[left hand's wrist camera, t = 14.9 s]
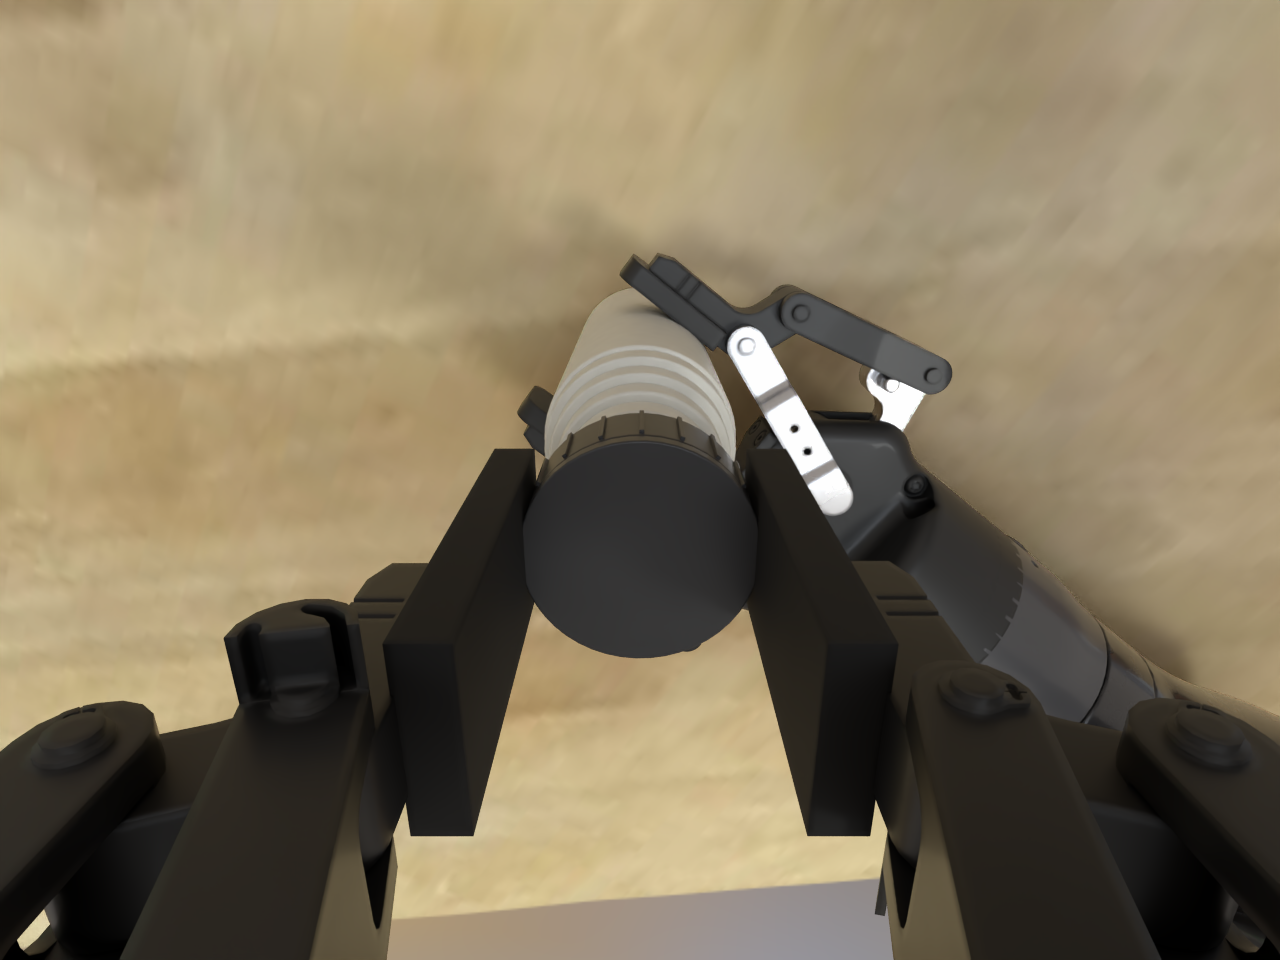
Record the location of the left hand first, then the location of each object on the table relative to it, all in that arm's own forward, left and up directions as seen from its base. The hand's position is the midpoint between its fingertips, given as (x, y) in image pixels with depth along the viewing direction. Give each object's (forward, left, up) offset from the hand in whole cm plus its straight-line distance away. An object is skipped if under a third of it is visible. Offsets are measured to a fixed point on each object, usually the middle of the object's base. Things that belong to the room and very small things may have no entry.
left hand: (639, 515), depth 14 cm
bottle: (0, 0, -17) cm, 17 cm away
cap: (0, 0, +1) cm, 1 cm away
